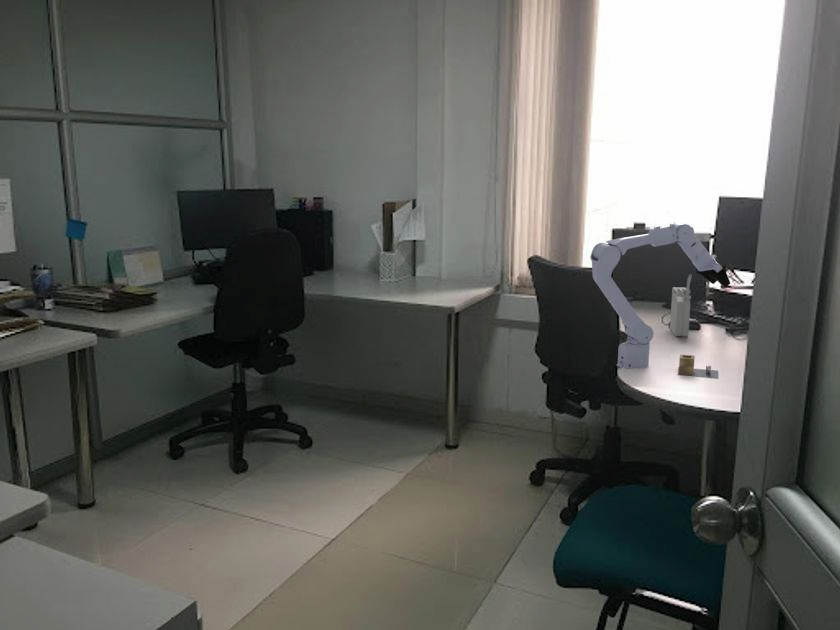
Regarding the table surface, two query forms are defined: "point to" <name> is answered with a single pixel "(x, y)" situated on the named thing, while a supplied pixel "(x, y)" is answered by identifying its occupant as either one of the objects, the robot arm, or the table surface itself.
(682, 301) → the fuel canister
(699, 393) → the table surface
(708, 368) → the steel pin
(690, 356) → the hollow block
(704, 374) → the pin plate
